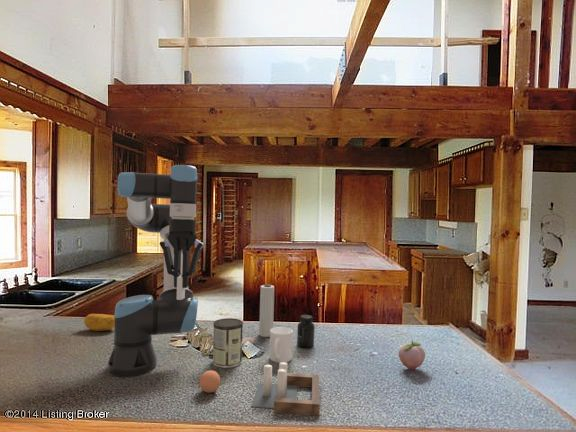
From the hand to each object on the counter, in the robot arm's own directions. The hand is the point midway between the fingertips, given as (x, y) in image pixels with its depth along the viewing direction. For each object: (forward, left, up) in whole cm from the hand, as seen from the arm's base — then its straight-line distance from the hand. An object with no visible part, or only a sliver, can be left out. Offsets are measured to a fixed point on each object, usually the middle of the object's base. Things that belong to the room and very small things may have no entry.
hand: (180, 298), depth 110 cm
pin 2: (+31, -2, -27) cm, 41 cm away
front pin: (+26, +1, -27) cm, 38 cm away
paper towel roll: (+19, +54, -27) cm, 63 cm away
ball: (+9, +1, -24) cm, 26 cm away
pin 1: (+31, +3, -27) cm, 41 cm away
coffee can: (+9, +23, -27) cm, 37 cm away
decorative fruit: (+73, +26, -27) cm, 82 cm away
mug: (+27, +27, -27) cm, 47 cm away
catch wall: (+35, +1, -27) cm, 44 cm away
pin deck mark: (+29, +1, -27) cm, 39 cm away
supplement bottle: (+36, +43, -27) cm, 62 cm away
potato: (-52, +48, -27) cm, 75 cm away
